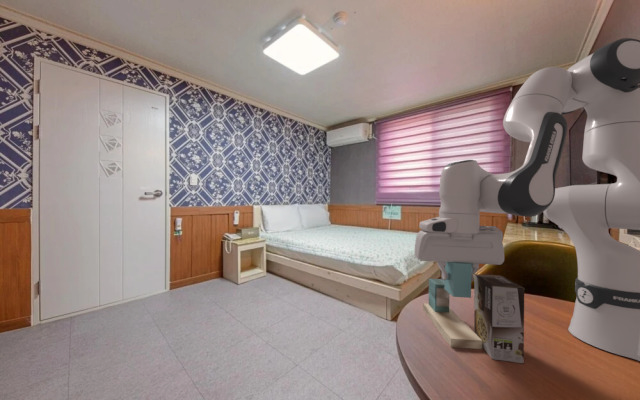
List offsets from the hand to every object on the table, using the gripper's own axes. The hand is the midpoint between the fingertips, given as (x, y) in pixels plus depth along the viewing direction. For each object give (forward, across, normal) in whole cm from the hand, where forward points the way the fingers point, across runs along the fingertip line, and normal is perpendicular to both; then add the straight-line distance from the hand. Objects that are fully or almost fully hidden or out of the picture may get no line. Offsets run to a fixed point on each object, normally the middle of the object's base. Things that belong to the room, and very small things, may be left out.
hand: (457, 279), depth 59 cm
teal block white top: (+3, 0, 0) cm, 3 cm away
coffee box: (+15, -8, +3) cm, 17 cm away
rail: (+14, -1, -6) cm, 16 cm away
